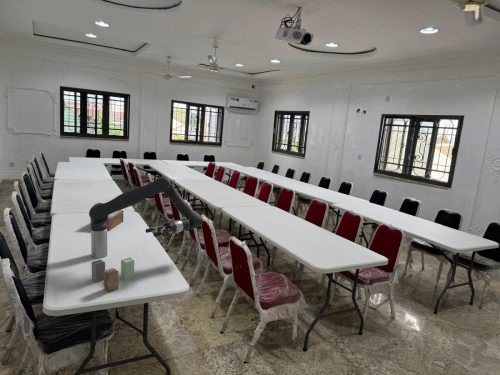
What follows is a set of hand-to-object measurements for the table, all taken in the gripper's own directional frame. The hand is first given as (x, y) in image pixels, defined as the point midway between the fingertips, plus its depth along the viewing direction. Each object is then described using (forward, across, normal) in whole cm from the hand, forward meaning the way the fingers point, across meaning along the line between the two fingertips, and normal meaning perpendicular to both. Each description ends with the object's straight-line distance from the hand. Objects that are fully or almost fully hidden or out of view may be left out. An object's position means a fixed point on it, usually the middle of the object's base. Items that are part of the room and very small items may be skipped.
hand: (149, 233), depth 195 cm
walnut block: (+27, +7, +22) cm, 36 cm away
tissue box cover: (-18, -93, +22) cm, 97 cm away
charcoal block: (+27, -7, +22) cm, 36 cm away
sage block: (+14, 0, +22) cm, 26 cm away
